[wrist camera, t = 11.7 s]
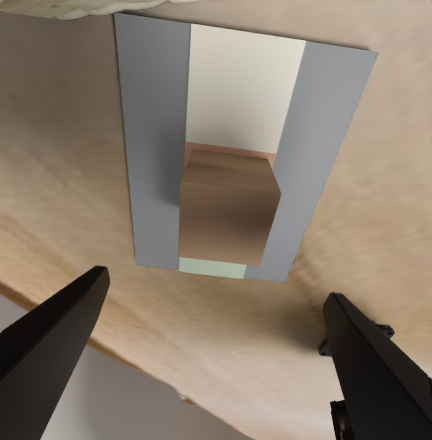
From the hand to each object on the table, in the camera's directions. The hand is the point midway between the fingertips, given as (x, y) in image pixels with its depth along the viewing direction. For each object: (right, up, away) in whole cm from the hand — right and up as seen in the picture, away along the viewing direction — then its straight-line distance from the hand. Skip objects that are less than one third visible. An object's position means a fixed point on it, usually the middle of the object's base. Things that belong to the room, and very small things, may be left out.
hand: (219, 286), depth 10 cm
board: (+1, +5, +9) cm, 10 cm away
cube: (+1, +5, +8) cm, 9 cm away
